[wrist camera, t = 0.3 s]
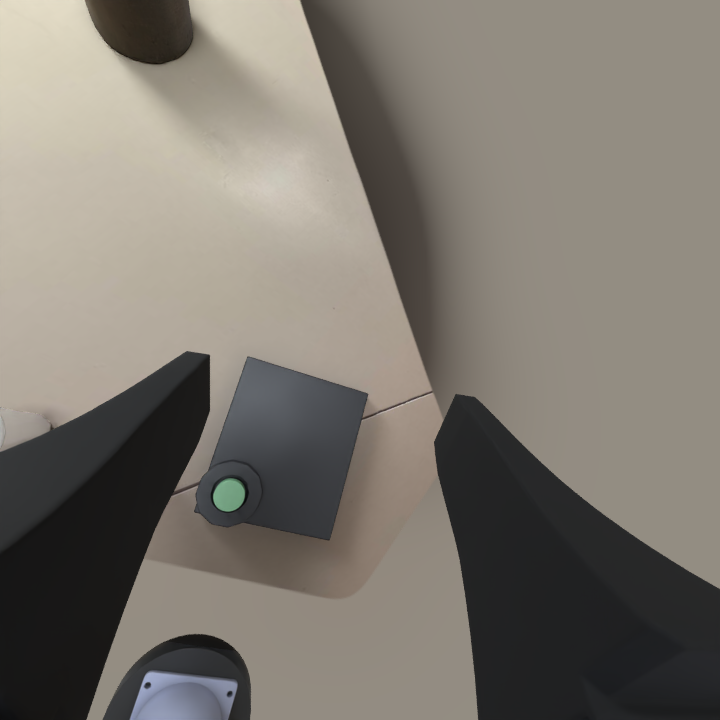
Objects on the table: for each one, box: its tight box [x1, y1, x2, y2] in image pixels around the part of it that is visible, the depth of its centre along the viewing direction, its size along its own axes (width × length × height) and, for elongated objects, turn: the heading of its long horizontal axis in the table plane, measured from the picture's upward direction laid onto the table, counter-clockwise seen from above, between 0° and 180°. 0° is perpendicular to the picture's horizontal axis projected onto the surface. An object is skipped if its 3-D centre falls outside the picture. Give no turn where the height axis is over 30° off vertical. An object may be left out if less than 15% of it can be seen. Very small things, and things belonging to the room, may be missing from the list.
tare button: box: [213, 478, 245, 512], centre depth 33 cm, size 3×3×1 cm
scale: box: [194, 357, 368, 540], centre depth 37 cm, size 15×13×3 cm
